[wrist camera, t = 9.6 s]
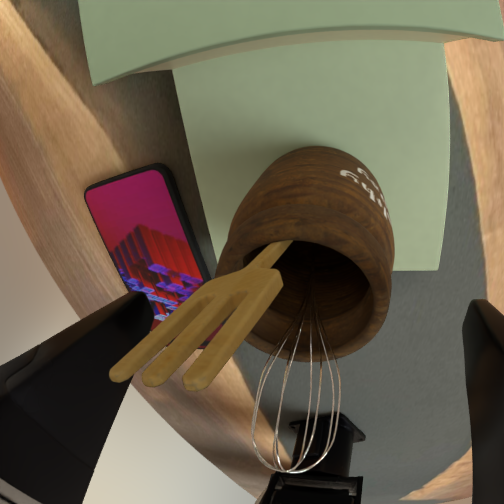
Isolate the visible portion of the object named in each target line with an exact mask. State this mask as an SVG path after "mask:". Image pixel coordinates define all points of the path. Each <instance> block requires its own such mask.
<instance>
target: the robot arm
mask: <svg viewBox="0 0 504 504" xmlns="http://www.w3.org/2000/svg"><path fill="white" fill-rule="evenodd" d="M154 317H155V316H154V311H153V308H152V306H151V304H150V302H149V299H148V297H147V295H146V294H145V293H144V292H142V291H131V292H129V293H127V294H125V295H124V296H122V297H120V298H118V299H117V300H115V301H113V302H111V303H109V304H108V305H106V306H104V307H102V308H101V309H99V310H97V311H95V312H94V313H92V314H90V315H88V316H87V317H85V318H83V319H82V320H80V321H78V322H76V323H75V324H73V325H71V326H70V327H68V328H66V329H64V330H63V331H61V332H60V333H57V334H56V335H54V336H52V337H51V338H49V339H47V340H46V341H44V342H42V343H41V344H40V345H37V346H35V347H34V348H32V349H30V350H29V351H27V352H25V353H23V354H22V355H20V356H18V357H16V358H14V359H12V360H10V361H9V362H7V363H5V364H3V365H1V366H0V504H82V503H83V500H84V497H85V494H86V492H87V489H88V486H89V483H90V481H91V478H92V475H93V473H94V469H95V467H96V464H97V462H98V459H99V457H100V454H101V451H102V449H103V447H104V444H105V442H106V439H107V436H108V434H109V432H110V429H111V427H112V424H113V422H114V420H115V417H116V415H117V412H118V410H119V407H120V405H121V403H122V401H123V398H124V396H125V394H126V391H127V389H128V387H129V384H130V382H131V380H132V378H133V375H134V374H133V375H132V376H131V377H130V378H129V379H127V380H125V381H123V382H120V383H118V382H113V381H112V380H111V379H110V377H109V372H110V369H111V368H112V367H113V366H114V365H116V364H117V363H118V362H119V361H120V360H121V359H122V358H123V357H124V356H125V355H126V354H128V353H129V352H130V351H131V350H132V349H133V348H134V347H135V346H136V345H137V344H138V343H140V342H141V341H142V340H143V339H144V338H145V337H146V336H147V335H148V334H149V333H150V330H151V327H152V324H153V321H154ZM462 335H463V345H464V358H465V376H466V388H467V397H468V405H469V414H470V425H471V438H472V460H473V493H472V504H504V315H503V314H502V313H500V312H499V311H498V310H497V309H496V308H495V307H494V306H493V305H492V304H491V303H489V302H488V301H487V300H486V299H474V300H472V301H471V302H470V304H469V307H468V310H467V313H466V316H465V319H464V322H463V326H462ZM331 416H332V415H330V416H325V417H320V418H317V422H316V427H315V432H314V436H313V439H312V442H311V445H310V447H309V450H308V452H307V454H306V455H305V457H304V459H303V460H302V462H301V463H300V464H299V465H298V466H297V467H296V469H295V470H301V469H305V468H307V467H309V466H311V465H313V464H314V463H316V462H317V461H318V460H319V459H320V457H321V456H322V454H323V453H324V451H325V448H326V446H327V442H328V437H329V430H330V424H331ZM336 419H337V414H335V415H333V421H332V428H331V434H330V440H329V444H328V448H329V447H330V444H331V442H332V440H333V436H334V432H335V426H336ZM314 422H315V418H314V419H309V420H308V426H307V433H306V439H305V445H304V450H303V453H302V457H303V455H304V453H305V451H306V449H307V447H308V445H309V442H310V439H311V436H312V432H313V428H314ZM306 423H307V420H303V421H297V422H291V423H289V428H290V429H291V430H293V431H294V432H295V433H296V434H297V438H296V443H295V447H294V451H293V455H292V457H293V460H292V464H291V468H290V469H292V468H293V467H295V466H296V464H297V462H298V460H299V458H300V455H301V451H302V447H303V442H304V436H305V430H306ZM365 438H366V436H365V435H364V434H363V433H362V432H361V431H360V430H359V429H358V428H357V427H356V426H355V425H354V424H353V423H352V422H351V421H350V420H349V419H348V418H347V417H346V416H345V415H343V414H339V417H338V424H337V431H336V435H335V439H334V442H333V444H332V446H331V448H330V450H329V451H328V453H327V454H326V455H325V457H324V458H323V459H322V460H321V461H320V462H319V463H317V464H316V465H315V466H314V467H312V468H311V469H309V470H307V471H304V472H299V473H286V472H280V471H276V472H275V473H274V474H271V478H270V481H269V484H268V487H267V489H266V491H265V493H264V495H263V497H262V499H261V501H260V502H259V504H361V494H362V484H363V476H358V477H348V476H349V469H350V462H351V455H352V447H353V443H355V442H361V441H364V440H365ZM328 448H327V450H328ZM327 450H326V451H327ZM325 453H326V452H325ZM302 457H301V459H302ZM301 459H300V460H301ZM295 470H294V471H295ZM349 493H352V495H349Z"/></svg>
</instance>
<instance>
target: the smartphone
mask: <svg viewBox="0 0 504 504" xmlns="http://www.w3.org/2000/svg"><path fill="white" fill-rule="evenodd" d="M84 199H85V202H86V204H87V207H88V209H89V211H90V214H91V216H92V218H93V220H94V223H95V225H96V227H97V229H98V232H99V234H100V236H101V238H102V240H103V242H104V244H105V246H106V249H107V251H108V253H109V255H110V257H111V259H112V261H113V263H114V265H115V267H116V269H117V271H118V273H119V275H120V277H121V279H122V280H123V282H124V284H125V286H126V288H127V290H128V292H131V291H142V292H144V293H145V294H146V295H147V297H148V299H149V302H150V304H151V306H152V308H153V311H154V316H155V317H154V321H153V324H152V327H151V330H150V331H151V332H152V331H153V330H154V329H155V328H156V327H157V326H158V325H159V324H160V323H161V322H163V321H164V320H165V319H166V318H167V317H168V316H169V315H170V314H171V313H172V312H174V311H175V310H176V309H177V308H178V307H179V306H180V305H181V304H182V303H183V302H185V301H186V300H187V299H188V298H189V297H190V296H191V295H192V294H193V293H194V292H196V291H197V290H198V289H199V288H200V287H202V286H203V285H204V284H205V283H206V282H208V281H210V280H212V279H211V277H210V274H209V272H208V269H207V267H206V264H205V262H204V259H203V257H202V254H201V251H200V249H199V246H198V244H197V241H196V238H195V236H194V233H193V230H192V228H191V225H190V222H189V220H188V217H187V214H186V212H185V209H184V206H183V204H182V201H181V198H180V195H179V193H178V190H177V187H176V184H175V181H174V179H173V176H172V173H171V171H170V170H169V168H168V167H167V166H165V165H164V164H161V163H154V164H151V165H148V166H145V167H142V168H139V169H135V170H132V171H129V172H126V173H123V174H121V175H118V176H115V177H112V178H109V179H106V180H103V181H101V182H98V183H95V184H93V185H91V186H89V187H88V188H86V190H85V192H84ZM225 323H226V320H224V321H223V322H222V323H221V324H220V325H219V326H218V327H217V328H216V329H215V330H214V331H213V332H212V334H211V335H210V336H209V337H208V338H207V339H206V340H205V341H204V342H203V343H202V344H201V345H200V346H199V347H198V348H197V349H205V348H206V347H207V345H208V344H209V343H210V342H211V340H212V339H213V338H214V337H215V335H216V334H217V333H218V332H219V330H220V329H221V328H222V327H223V325H224V324H225ZM178 335H179V334H178ZM178 335H177V336H178ZM177 336H176V337H177ZM176 337H175V338H174V339H173V340H172V341H171V342H169V343H168V344H167V345H166V347H168V346H169V345H170V344H171V343H172V342H173V341H174V340H175V339H176Z"/></svg>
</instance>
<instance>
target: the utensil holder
mask: <svg viewBox="0 0 504 504" xmlns="http://www.w3.org/2000/svg"><path fill="white" fill-rule="evenodd" d="M394 258H395V244H394V235H393V229H392V224H391V220H390V216H389V212H388V208H387V205H386V201H385V198H384V195H383V193H382V190H381V188H380V186H379V184H378V182H377V180H376V178H375V177H374V175H373V174H372V173H371V171H370V170H369V169H368V168H367V167H366V166H365V165H364V164H363V163H362V162H361V161H360V160H358V159H357V158H355V157H354V156H352V155H351V154H349V153H347V152H344V151H342V150H339V149H336V148H332V147H327V146H307V147H302V148H298V149H295V150H292V151H290V152H288V153H286V154H284V155H282V156H281V157H279V158H278V159H276V160H275V161H274V162H273V163H272V164H271V165H270V166H268V168H267V169H266V170H265V171H264V172H263V173H262V174H261V176H260V177H259V178H258V179H257V181H256V182H255V183H254V185H253V186H252V187H251V189H250V190H249V191H248V193H247V194H246V196H245V197H244V199H243V200H242V202H241V203H240V205H239V207H238V209H237V210H236V212H235V215H234V217H233V219H232V222H231V225H230V229H229V232H228V238H227V242H226V244H225V246H224V248H223V250H222V252H221V255H220V258H219V261H218V265H217V269H216V273H215V279H212V280H210V281H208V282H206V283H205V284H204V285H203V286H202V287H200V288H199V289H198V290H197V291H196V292H194V293H193V294H192V295H191V296H190V297H189V298H188V299H187V300H186V301H185V302H183V303H182V304H181V305H180V306H179V307H178V308H177V309H176V310H175V311H174V312H172V313H171V314H170V315H169V316H168V317H167V318H166V319H165V320H164V321H163V322H161V323H160V324H159V325H158V326H157V327H156V328H155V329H154V330H153V331H152V332H150V333H149V334H148V335H147V336H146V337H145V338H144V339H143V340H142V341H141V342H140V343H138V344H137V345H136V346H135V347H134V348H133V349H132V350H131V351H130V352H129V353H128V354H126V355H125V356H124V357H123V358H122V359H121V360H120V361H119V362H118V363H117V364H116V365H114V366H113V367H112V368H111V369H110V372H109V377H110V379H111V380H112V381H113V382H118V383H120V382H123V381H125V380H127V379H129V378H130V377H131V376H132V375H133V374H134V373H135V372H137V371H138V370H139V369H140V368H141V367H142V366H143V365H145V364H146V363H147V362H148V361H149V360H150V359H151V358H153V357H154V356H155V355H156V354H157V353H158V352H159V351H160V350H162V349H163V348H164V347H165V346H166V345H167V344H168V343H169V342H171V341H172V340H173V339H174V338H175V337H176V336H177V335H178V334H179V335H178V336H177V337H176V339H175V340H174V341H173V342H172V343H171V344H170V345H169V346H168V347H167V348H166V349H165V350H164V351H163V352H162V353H161V354H160V355H159V356H158V357H157V358H156V359H155V360H154V361H153V362H152V363H151V364H150V365H149V367H148V368H147V369H146V370H145V371H144V372H143V373H142V382H143V384H144V385H145V386H147V387H156V386H159V385H161V384H163V383H164V382H165V381H166V380H167V379H168V378H169V377H170V376H171V375H172V374H173V373H174V372H175V371H176V370H177V369H178V368H179V367H180V366H181V365H182V364H183V363H184V362H185V361H186V360H187V358H188V357H189V356H190V355H191V354H192V353H193V352H194V351H195V350H196V349H197V348H198V347H199V346H200V345H201V344H202V343H203V342H204V341H205V340H206V339H207V338H208V337H209V336H210V335H211V334H212V332H213V331H214V330H215V329H216V328H217V327H218V326H219V325H220V324H221V323H222V322H223V321H224V320H226V323H225V324H224V325H223V327H222V328H221V329H220V330H219V332H218V333H217V334H216V335H215V337H214V338H213V339H212V340H211V342H210V343H209V344H208V345H207V347H206V348H205V349H204V350H203V352H202V353H201V354H200V355H199V357H198V358H197V359H196V360H195V362H194V363H193V364H192V365H191V367H190V368H189V369H188V370H187V372H186V373H185V374H184V375H183V377H182V381H183V385H184V387H185V389H186V390H188V391H196V392H198V391H200V390H202V389H204V388H207V387H208V386H209V385H210V383H211V382H212V381H213V380H214V378H215V377H216V376H217V374H218V373H219V372H220V370H221V369H222V368H223V367H224V365H225V364H226V363H227V361H228V360H229V359H230V357H231V356H232V355H233V354H234V352H235V351H236V350H237V348H238V347H239V346H240V344H241V343H242V342H243V340H245V341H246V342H248V343H249V344H251V345H252V346H254V347H255V348H257V349H259V350H261V351H263V352H265V353H268V354H270V357H269V358H268V360H267V362H266V365H265V367H264V369H263V372H262V375H261V378H260V382H259V386H258V390H257V395H256V401H255V407H254V412H253V418H252V427H251V434H252V442H253V447H254V450H255V453H256V455H257V457H258V458H259V460H260V461H261V462H262V463H263V464H264V465H265V466H267V467H268V468H270V469H273V470H276V471H280V472H286V473H299V472H304V471H307V470H309V469H311V468H312V467H314V466H315V465H316V464H317V463H319V462H320V461H321V460H322V459H323V458H324V457H325V455H326V454H327V453H328V451H329V450H330V448H331V446H332V444H333V442H334V439H335V435H336V431H337V424H338V417H339V409H340V397H341V382H340V374H339V369H338V365H337V361H336V359H338V358H341V357H344V356H347V355H349V354H351V353H353V352H355V351H357V350H359V349H360V348H362V347H363V346H365V345H366V344H367V343H368V342H369V341H371V340H372V339H373V338H374V336H375V335H376V334H377V333H378V331H379V330H380V328H381V327H382V325H383V323H384V321H385V318H386V316H387V312H388V308H389V303H390V297H391V287H392V282H391V274H392V270H393V265H394ZM272 355H273V356H275V358H274V360H273V362H272V363H271V365H270V367H269V369H268V371H267V374H266V376H265V378H264V381H263V384H262V387H261V390H260V394H259V389H260V385H261V381H262V378H263V374H264V371H265V369H266V366H267V364H268V362H269V360H270V358H271V356H272ZM276 357H279V358H282V359H286V360H288V361H287V365H286V370H285V375H284V381H283V387H282V393H281V399H280V406H279V411H278V417H277V423H276V429H275V435H274V442H273V460H274V464H275V467H276V468H275V467H273V466H272V465H270V464H269V463H267V462H266V461H265V460H264V459H263V458H262V456H261V455H260V453H259V451H258V449H257V447H256V444H255V441H254V430H255V423H256V417H257V411H258V406H259V401H260V396H261V393H262V389H263V386H264V383H265V380H266V377H267V375H268V373H269V371H270V369H271V367H272V365H273V363H274V361H275V359H276ZM289 360H291V363H290V366H289V369H288V365H289ZM329 360H335V363H336V367H337V372H338V378H339V402H338V411H337V419H336V426H335V432H334V436H333V440H332V442H331V444H330V447H329V448H328V444H329V440H330V434H331V428H332V421H333V412H334V384H333V377H332V372H331V367H330V363H329ZM292 361H298V362H311V379H310V398H309V408H308V416H307V423H306V430H305V436H304V442H303V447H302V451H301V455H300V458H299V460H298V462H297V464H296V466H295V467H293V468H292V469H290V470H287V471H286V470H284V468H283V467H282V465H281V463H280V459H279V454H278V426H279V418H280V412H281V405H282V399H283V394H284V389H285V386H286V382H287V378H288V374H289V371H290V368H291V364H292ZM323 361H328V365H329V369H330V374H331V380H332V389H333V405H332V416H331V424H330V430H329V437H328V442H327V446H326V448H325V451H324V453H323V454H322V456H321V457H320V459H319V460H318V461H317V462H316V463H314V464H313V465H311V466H309V467H307V468H305V469H301V470H295V469H296V467H297V466H298V465H299V464H300V463H301V462H302V460H303V459H304V457H305V455H306V454H307V452H308V450H309V447H310V445H311V442H312V439H313V436H314V432H315V427H316V422H317V415H318V408H319V400H320V392H321V381H322V362H323ZM312 362H320V383H319V393H318V401H317V409H316V416H315V422H314V428H313V432H312V436H311V439H310V442H309V445H308V447H307V449H306V451H305V453H304V455H303V457H302V453H303V450H304V445H305V439H306V433H307V426H308V420H309V412H310V403H311V390H312ZM287 369H288V373H287ZM286 375H287V376H286ZM258 394H259V398H258ZM257 399H258V403H257ZM256 405H257V408H256ZM255 411H256V413H255ZM254 417H255V419H254ZM275 439H276V454H277V459H278V463H279V466H280V467H281V469H282V470H281V469H279V468H278V467H277V465H276V462H275V454H274V448H275ZM327 448H328V450H327ZM326 450H327V451H326ZM325 452H326V453H325ZM259 456H260V457H259ZM301 457H302V459H301ZM261 459H262V460H263V461H264V462H265V463H266V464H265V463H264V462H263V461H262V460H261ZM300 459H301V460H300ZM294 470H295V471H294Z"/></svg>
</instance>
